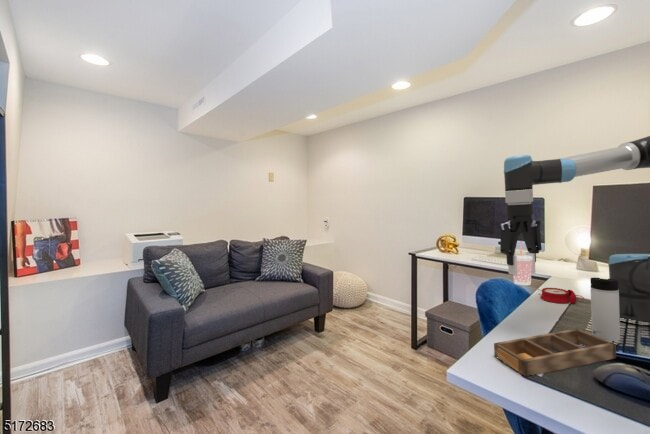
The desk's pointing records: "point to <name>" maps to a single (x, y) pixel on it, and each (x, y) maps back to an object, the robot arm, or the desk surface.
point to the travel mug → (605, 309)
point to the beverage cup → (523, 269)
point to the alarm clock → (558, 295)
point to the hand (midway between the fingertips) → (522, 273)
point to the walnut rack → (536, 359)
